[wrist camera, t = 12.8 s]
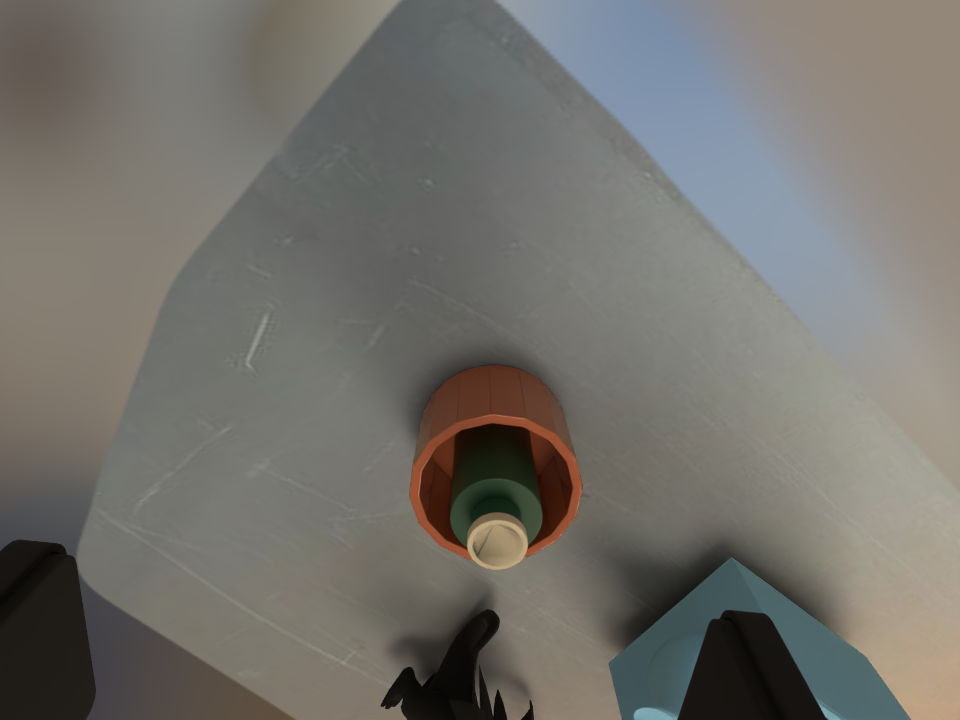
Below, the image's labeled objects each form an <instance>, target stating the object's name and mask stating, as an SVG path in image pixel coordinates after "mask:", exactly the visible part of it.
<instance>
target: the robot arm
mask: <svg viewBox="0 0 960 720" xmlns="http://www.w3.org/2000/svg"><path fill="white" fill-rule="evenodd" d="M95 693H96V688H95V680H94V674H93V667H92V661H91V655H90V649H89V642H88V636H87V629H86V622H85V616H84V610H83V603H82V597H81V591H80V584H79V577H78V571H77V564H76V561H75V558H74V557H73V556H70V555H67V553H66V550H65V548H64V547H63V546H62V545H61V544H57V543H47V542H38V541H28V540H16V541H13V542H11V543H9V544H8V545H7V546H5V547H4V548H3V549H2V550H1V551H0V720H86V718H87V717H88V715H89V713H90V711H91V708H92V706H93V703H94V699H95ZM677 720H829V719H827V718H826V717H825V715H824V713H823V712H822V710H821V708H820V706H819V704H818V702H817V701H816V699H815V697H814V695H813V693H812V692H811V690H810V688H809V686H808V684H807V683H806V681H805V679H804V677H803V675H802V674H801V672H800V670H799V668H798V666H797V664H796V663H795V661H794V659H793V657H792V655H791V654H790V652H789V650H788V648H787V646H786V645H785V643H784V641H783V639H782V637H781V636H780V634H779V632H778V630H777V628H776V627H775V625H774V623H773V621H772V620H771V619H770V617H769V616H768V615H766V614H765V613H756V612H746V611H736V610H725V611H724V612H723V613H722V615H721V617H720V619H712V620H711V621H710V623H709V625H708V628H707V631H706V634H705V637H704V640H703V643H702V646H701V649H700V652H699V655H698V658H697V661H696V664H695V667H694V670H693V674H692V677H691V680H690V683H689V686H688V689H687V692H686V695H685V698H684V701H683V704H682V707H681V710H680V713H679V716H678V719H677Z"/></svg>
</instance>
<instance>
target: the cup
mask: <svg viewBox="0 0 960 720" xmlns="http://www.w3.org/2000/svg"><path fill="white" fill-rule="evenodd" d="M490 423H495V424H504V425H512V426H520V427H524V428H526V429H528V430H529V432H530V438H531V444H532V451H533V457H534V463H535V469H536V475H537V481H538V488H539V494H540V500H541V506H542V512H543V519H542V525H541V528H540V530H539V532H538V534H537V536H536V537H535V538H534V540H533V541H532V542H531V543H530V544H529V545H528V548H527V552H526V554H525V556H524V557H528V556H531V555H533V554H535V553H537V552H538V551H540V550H542V549H543V548H545V547H547V546H548V545H550V544H552V543H553V542H555V541H556V540H558V539H559V538H560V536H561V535H562V534H563V532H564V531H565V530H566V528H567V527H568V526H569V525H570V523H571V522H572V521H573V519H574V518H575V517H576V515H577V510H578V506H579V502H580V497H581V493H582V489H583V485H582V481H581V477H580V473H579V468H578V464H577V460H576V456H575V453H574V449H573V446H572V442H571V439H570V435H569V432H568V428H567V424H566V421H565V417H564V414H563V410H562V408H561V406H560V405H559V403H558V401H557V399H556V397H555V396H554V394H553V393H552V392H551V390H550V389H549V388H548V387H547V386H546V385H545V384H544V383H542V382H541V381H540V380H539V379H537V378H536V377H534V376H532V375H531V374H529V373H527V372H524V371H522V370H519V369H516V368H513V367H507V366H499V365H489V366H480V367H474V368H471V369H468V370H465V371H463V372H461V373H458V374H456V375H455V376H453V377H451V378H450V379H448V380H447V381H446V382H444V383H443V384H442V385H441V386H440V387H439V388H438V389H437V390H436V391H435V392H434V394H433V395H432V397H431V398H430V400H429V402H428V404H427V405H426V408H425V411H424V413H423V414H422V418H421V424H420V429H419V435H418V440H417V445H416V451H415V456H414V462H413V467H412V475H411V484H410V493H409V496H410V500H411V503H412V506H413V508H414V511H415V514H416V517H417V520H418V522H419V524H420V525H421V526H422V527H423V528H424V530H425V531H426V532H427V533H428V534H429V535H430V536H431V537H432V538H433V539H434V540H435V541H436V542H437V543H438V544H439V545H440V546H442V547H444V548H446V549H448V550H450V551H452V552H454V553H456V554H459V555H461V556H463V557H465V558H467V559H472V558H471V556H470V554H469V552H468V549H467V547H466V546H464V545H463V544H462V543H461V542H460V541H459V540H458V538H457V537H456V536H455V534H454V532H453V530H452V528H451V524H450V507H451V493H452V478H453V464H454V449H455V435H456V433H458V432H459V431H461V430H464V429H468V428H473V427H477V426H481V425H485V424H490Z"/></svg>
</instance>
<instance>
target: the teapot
mask: <svg viewBox="0 0 960 720" xmlns="http://www.w3.org/2000/svg"><path fill="white" fill-rule="evenodd" d="M725 610H736V611H746V612H756V613H765V614H766V615H768V616H769V617H770V619H771V620H772V621H773V623H774V625H775V627H776V628H777V630H778V632H779V634H780V636H781V637H782V639H783V641H784V643H785V645H786V646H787V648H788V650H789V652H790V654H791V655H792V657H793V659H794V661H795V663H796V664H797V666H798V668H799V670H800V672H801V674H802V675H803V677H804V679H805V681H806V683H807V684H808V686H809V688H810V690H811V692H812V693H813V695H814V697H815V699H816V701H817V702H818V704H819V706H820V708H821V710H822V712H823V713H824V715H825V717H826V718H827V719H829V720H911V719H910V718H909V716H908V715H907V713H906V712H905V711H904V709H903V708H902V706H901V705H900V704H899V702H898V701H897V699H896V698H895V697H894V695H893V694H892V692H891V691H890V690H889V688H888V687H887V685H886V684H885V683H884V681H883V680H882V678H881V677H880V676H879V674H878V673H877V671H876V670H875V669H874V667H873V666H872V664H871V663H870V662H869V660H868V659H867V657H865V656H864V655H863V654H862V653H860V652H859V651H858V650H856V649H855V648H854V647H852V646H851V645H850V644H848V643H847V642H846V641H844V640H843V639H842V638H840V637H839V636H838V635H836V634H835V633H833V632H832V631H831V630H829V629H828V628H827V627H825V626H824V625H823V624H821V623H820V622H819V621H817V620H816V619H815V618H813V617H812V616H811V615H809V614H808V613H807V612H805V611H804V610H803V609H801V608H800V607H799V606H797V605H796V604H794V603H793V602H792V601H790V600H789V599H788V598H786V597H785V596H784V595H782V594H781V593H780V592H778V591H777V590H776V589H774V588H773V587H772V586H770V585H769V584H767V583H766V582H765V581H763V580H762V579H761V578H759V577H758V576H757V575H755V574H754V573H753V572H751V571H750V570H748V569H747V568H746V567H744V566H743V565H742V564H740V563H739V562H738V561H736V560H735V559H733V558H732V557H731V558H730V559H728V560H727V561H726V562H725V563H724V564H723V565H721V566H720V567H719V568H718V569H717V570H716V571H714V572H713V573H712V574H711V575H710V576H709V577H708V578H706V579H705V580H704V581H703V582H702V583H701V584H699V585H698V586H697V587H696V588H695V589H694V590H693V591H691V592H690V593H689V594H688V595H687V596H686V597H685V598H683V599H682V600H681V601H680V602H679V603H678V604H676V605H675V606H674V607H673V608H672V609H671V610H669V611H668V612H667V613H666V614H665V615H664V616H662V617H661V618H660V619H659V620H658V621H657V622H656V623H654V624H653V625H652V626H651V627H650V628H649V629H648V630H646V631H645V632H644V633H643V634H642V635H641V636H639V637H638V638H637V639H636V640H635V641H634V642H632V643H631V644H630V645H629V646H628V647H627V648H626V649H624V650H623V651H622V652H621V653H620V654H619V655H617V656H616V657H615V658H614V659H613V660H612V661H611V662H609V667H610V671H611V675H612V679H613V683H614V688H615V692H616V696H617V700H618V704H619V709H620V713H621V717H622V720H677V719H678V716H679V713H680V710H681V707H682V704H683V701H684V698H685V695H686V692H687V689H688V686H689V683H690V680H691V677H692V674H693V670H694V667H695V664H696V661H697V658H698V655H699V652H700V649H701V646H702V643H703V640H704V637H705V634H706V631H707V628H708V625H709V623H710V621H711V620H712V619H720V617H721V615H722V613H723V612H724V611H725Z"/></svg>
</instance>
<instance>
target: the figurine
mask: <svg viewBox="0 0 960 720" xmlns="http://www.w3.org/2000/svg"><path fill="white" fill-rule="evenodd" d="M499 624H500V619H499V617H498V615H497V614H496V613H495V612H494V611H492V610H488V609H487V610H485V611H483V612H482V613H480V614H479V615H477V616H476V617H474V618H473V619H471V620H470V621H469V622H468V623H467V624H466V626H465V627H464V628H463V629H462V630H461V631H460V632H459V634H458V635H457V636H456V638H455V639H454V641H453V642H452V644H451V646H450V647H449V649H448V651H447V653H446V655H445V657H444V659H443V661H442V663H441V665H440V667H439V669H438V671H437V673H435V674H433V675H431V676H430V677H429V679H428V680H427V681H426V682H425V684H424V685H423V686H421V685H420V684H419V682H418V681H417V680H416V677H415V674H414V670H413V668H411V667H407V668H406V669H404V670H403V671H402V672H401V674H400V675H399V677H398V678H397V679H396V681H395V682H394V684H393V685H392V686H391V688H390V689H389V691H388V692H387V694H386V696H385V698H384V700H383V702H382V704H381V707H384V706H385V705H386V706H385V709H389V708H390V707H395V706H396V705H397V704H398V703H399V702H400V701H401V700H402V699H403V701H402V705H401V709H402V712H403V714H404V716H405V717H406V718H407V720H507V716H506V712H505V708H504V704H503V701H502V698H501V696H500V693H499V690H497V693H496V697H495V703H494V715H493V714H492V709H491V704H490V700H489V696H488V692H487V688H486V685H485V682H484V678H483V675H482V672H481V669H480V665H479V688H480V708H479V706H478V702H477V697H476V693H475V680H474V679H475V669H476V663H477V657H478V653H479V651H480V650H481V649H482V648H483V647H484V646H485V645H486V644H487V642H488V641H489V640H490V639H491V638H492V637H493V636H494V634H495V633H496V632H497V630H498V628H499ZM521 720H534V714H533V705H532V702H531V700H530V709H529V710H528V712H527V713H526V714H525V716H524V717H523V718H522V719H521Z"/></svg>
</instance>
